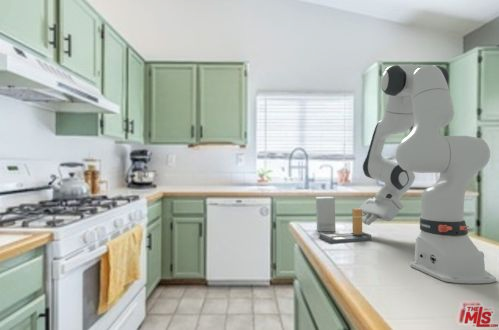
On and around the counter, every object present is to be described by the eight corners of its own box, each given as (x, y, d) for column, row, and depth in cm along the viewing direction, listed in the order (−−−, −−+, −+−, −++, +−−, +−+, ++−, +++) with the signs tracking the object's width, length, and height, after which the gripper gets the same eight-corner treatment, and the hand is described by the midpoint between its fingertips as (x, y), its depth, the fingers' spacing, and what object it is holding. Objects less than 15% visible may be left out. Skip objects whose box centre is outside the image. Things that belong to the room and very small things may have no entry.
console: (357, 235, 151) (357, 230, 151) (371, 240, 141) (371, 234, 141) (319, 238, 146) (319, 232, 146) (330, 243, 137) (330, 237, 137)
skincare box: (333, 229, 166) (333, 196, 166) (335, 231, 159) (335, 197, 159) (315, 229, 167) (315, 196, 166) (317, 231, 160) (316, 197, 160)
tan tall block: (358, 233, 147) (358, 208, 147) (363, 235, 144) (363, 209, 144) (351, 234, 146) (351, 208, 146) (355, 235, 143) (355, 209, 143)
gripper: (367, 192, 158) (347, 215, 156) (396, 196, 138) (375, 222, 136) (375, 202, 159) (356, 224, 157) (406, 207, 139) (385, 233, 137)
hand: (365, 223), depth 146 cm, fingers closed
